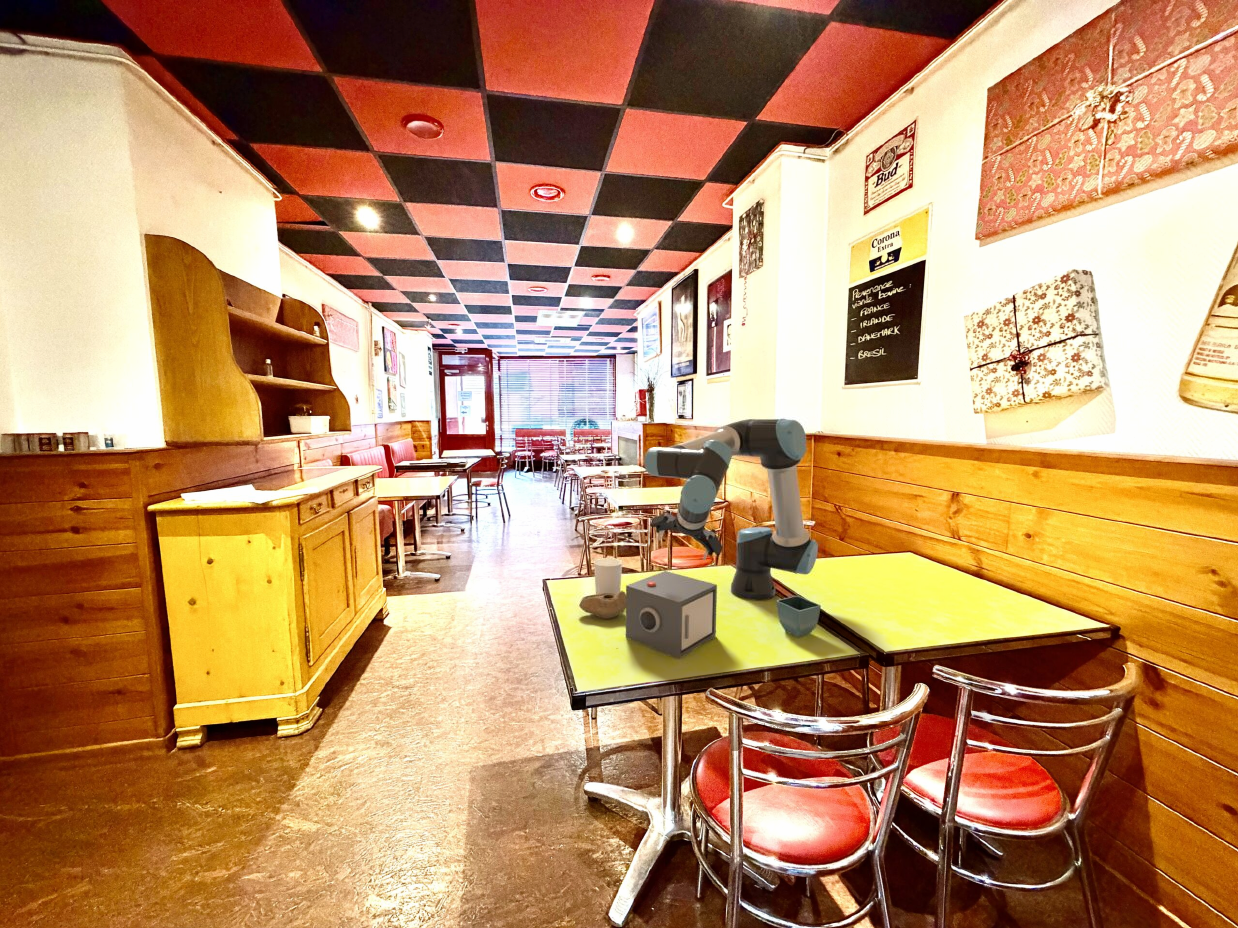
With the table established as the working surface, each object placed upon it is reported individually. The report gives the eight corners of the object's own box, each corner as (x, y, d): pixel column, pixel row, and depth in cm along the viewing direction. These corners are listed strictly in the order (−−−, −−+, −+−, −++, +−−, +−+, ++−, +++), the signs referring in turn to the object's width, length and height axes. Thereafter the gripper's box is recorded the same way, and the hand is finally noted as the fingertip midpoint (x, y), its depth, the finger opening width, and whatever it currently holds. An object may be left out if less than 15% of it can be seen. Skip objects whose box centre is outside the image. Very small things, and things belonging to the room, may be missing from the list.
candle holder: (618, 601, 162) (619, 566, 161) (590, 599, 164) (590, 565, 163) (624, 591, 171) (624, 558, 170) (597, 589, 173) (597, 557, 172)
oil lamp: (577, 610, 154) (577, 586, 154) (623, 607, 157) (623, 583, 157) (582, 624, 144) (582, 598, 143) (631, 620, 147) (631, 595, 146)
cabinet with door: (664, 618, 148) (665, 568, 147) (715, 636, 136) (716, 582, 135) (621, 639, 134) (622, 584, 132) (674, 661, 122) (675, 601, 120)
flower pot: (798, 642, 133) (799, 610, 132) (774, 629, 141) (775, 600, 140) (820, 635, 137) (821, 605, 136) (796, 624, 145) (797, 595, 144)
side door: (710, 630, 136) (711, 590, 135) (714, 632, 135) (715, 592, 134) (679, 649, 125) (679, 605, 124) (683, 651, 124) (684, 607, 123)
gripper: (639, 509, 121) (637, 539, 139) (734, 550, 115) (719, 575, 134) (651, 485, 124) (648, 517, 142) (744, 523, 118) (728, 552, 137)
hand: (682, 546), depth 138 cm, fingers open, 13 cm apart
